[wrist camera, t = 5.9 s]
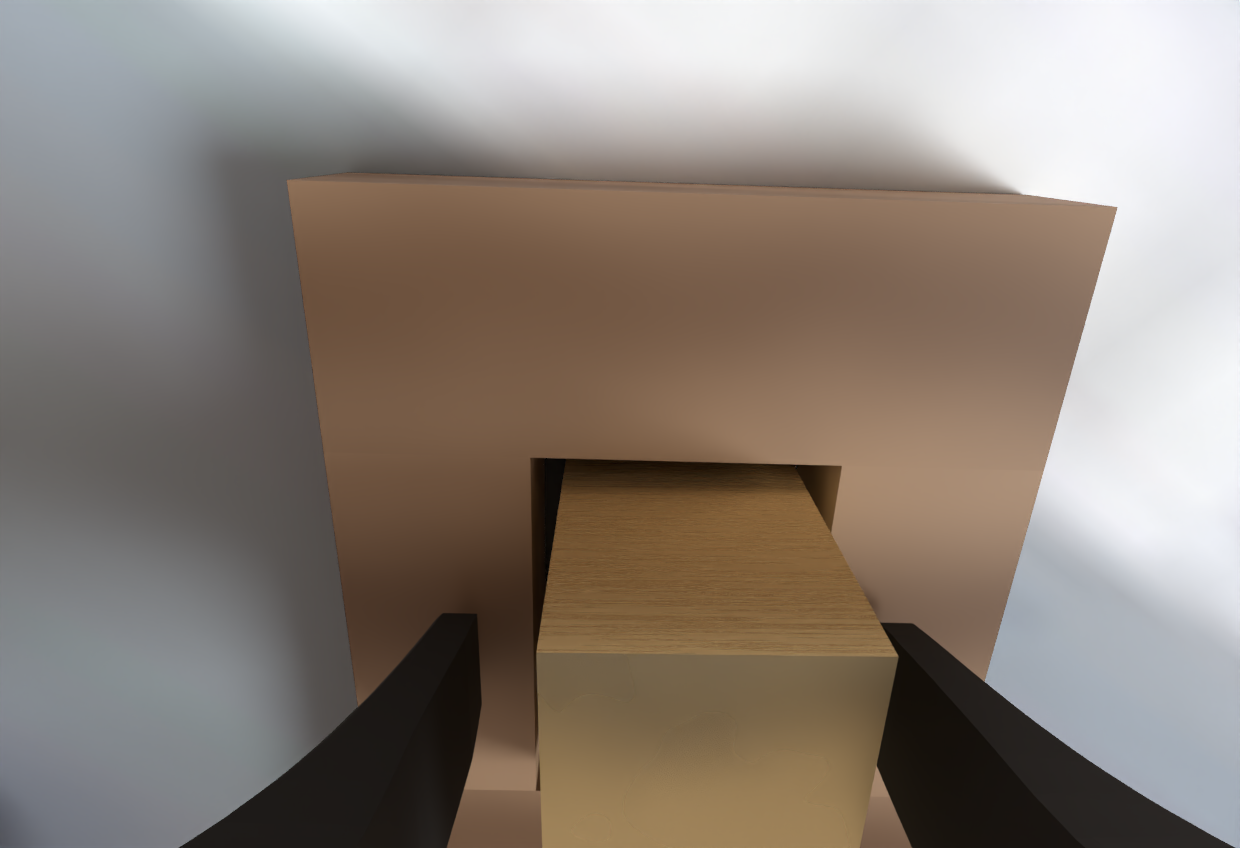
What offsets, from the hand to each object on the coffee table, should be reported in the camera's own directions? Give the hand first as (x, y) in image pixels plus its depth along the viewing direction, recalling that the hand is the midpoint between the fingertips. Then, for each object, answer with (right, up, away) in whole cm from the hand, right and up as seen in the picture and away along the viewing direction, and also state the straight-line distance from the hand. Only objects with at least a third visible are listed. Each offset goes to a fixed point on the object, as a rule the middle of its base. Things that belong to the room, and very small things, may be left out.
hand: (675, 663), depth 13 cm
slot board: (0, +1, +3) cm, 3 cm away
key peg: (0, +1, +3) cm, 3 cm away
